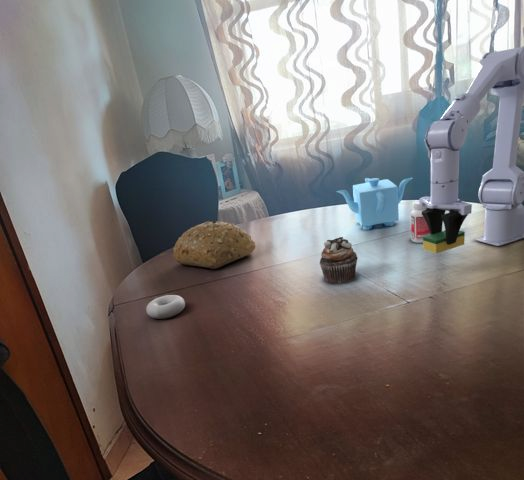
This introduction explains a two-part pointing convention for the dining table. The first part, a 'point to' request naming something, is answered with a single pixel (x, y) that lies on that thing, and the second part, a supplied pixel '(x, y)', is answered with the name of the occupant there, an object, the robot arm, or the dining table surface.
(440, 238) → the sponge
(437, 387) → the dining table surface
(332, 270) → the cupcake
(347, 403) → the dining table surface
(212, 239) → the bread
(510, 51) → the robot arm
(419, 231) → the pill bottle
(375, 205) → the teakettle
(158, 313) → the donut
